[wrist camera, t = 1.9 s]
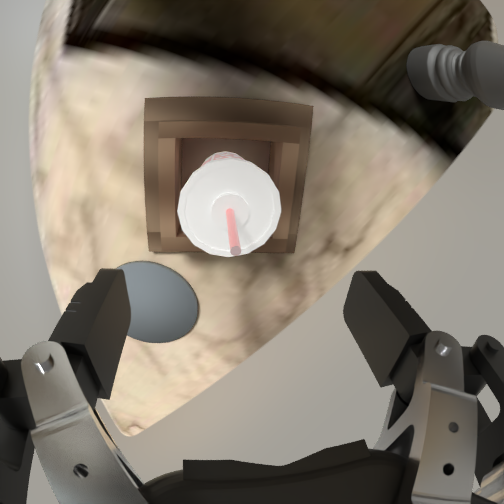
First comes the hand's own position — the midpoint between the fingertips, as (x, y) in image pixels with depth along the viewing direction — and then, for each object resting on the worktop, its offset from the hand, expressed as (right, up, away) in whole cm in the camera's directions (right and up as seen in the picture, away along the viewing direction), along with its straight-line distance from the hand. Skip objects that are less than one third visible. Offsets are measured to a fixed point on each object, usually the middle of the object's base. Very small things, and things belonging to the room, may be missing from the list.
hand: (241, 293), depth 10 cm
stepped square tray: (-2, +8, +15) cm, 17 cm away
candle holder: (+19, +20, +11) cm, 30 cm away
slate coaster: (-11, -4, +20) cm, 23 cm away
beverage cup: (-2, +8, +15) cm, 17 cm away
